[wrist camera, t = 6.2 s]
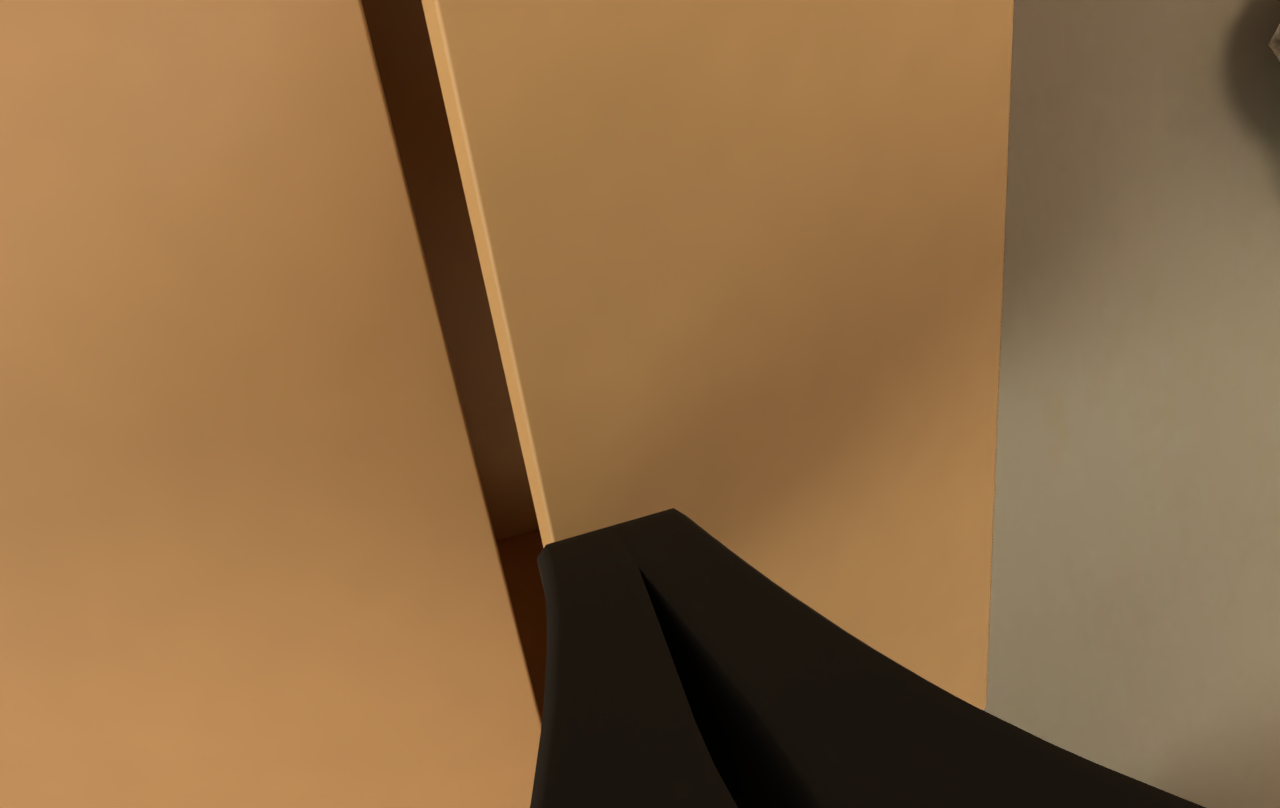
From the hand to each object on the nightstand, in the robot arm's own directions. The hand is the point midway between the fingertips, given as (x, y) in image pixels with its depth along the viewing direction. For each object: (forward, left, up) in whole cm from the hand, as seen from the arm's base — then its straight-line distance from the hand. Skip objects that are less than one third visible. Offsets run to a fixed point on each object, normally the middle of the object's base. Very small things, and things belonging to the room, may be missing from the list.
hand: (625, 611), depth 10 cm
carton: (+1, 0, -10) cm, 10 cm away
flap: (-2, 0, -2) cm, 3 cm away
